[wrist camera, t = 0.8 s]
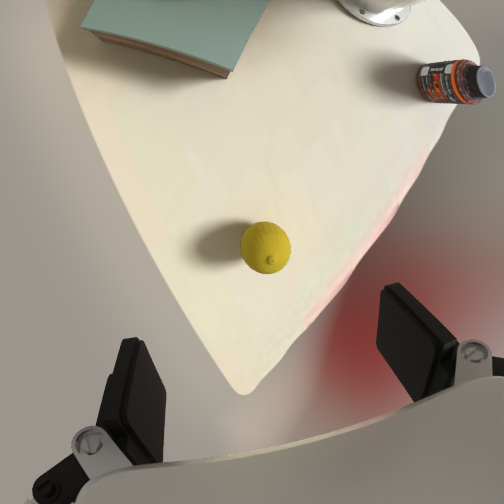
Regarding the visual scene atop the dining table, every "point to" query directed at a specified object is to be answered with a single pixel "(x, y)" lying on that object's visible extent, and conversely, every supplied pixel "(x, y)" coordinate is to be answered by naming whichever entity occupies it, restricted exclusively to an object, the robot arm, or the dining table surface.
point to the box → (163, 53)
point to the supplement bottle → (456, 82)
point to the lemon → (265, 247)
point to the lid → (181, 25)
